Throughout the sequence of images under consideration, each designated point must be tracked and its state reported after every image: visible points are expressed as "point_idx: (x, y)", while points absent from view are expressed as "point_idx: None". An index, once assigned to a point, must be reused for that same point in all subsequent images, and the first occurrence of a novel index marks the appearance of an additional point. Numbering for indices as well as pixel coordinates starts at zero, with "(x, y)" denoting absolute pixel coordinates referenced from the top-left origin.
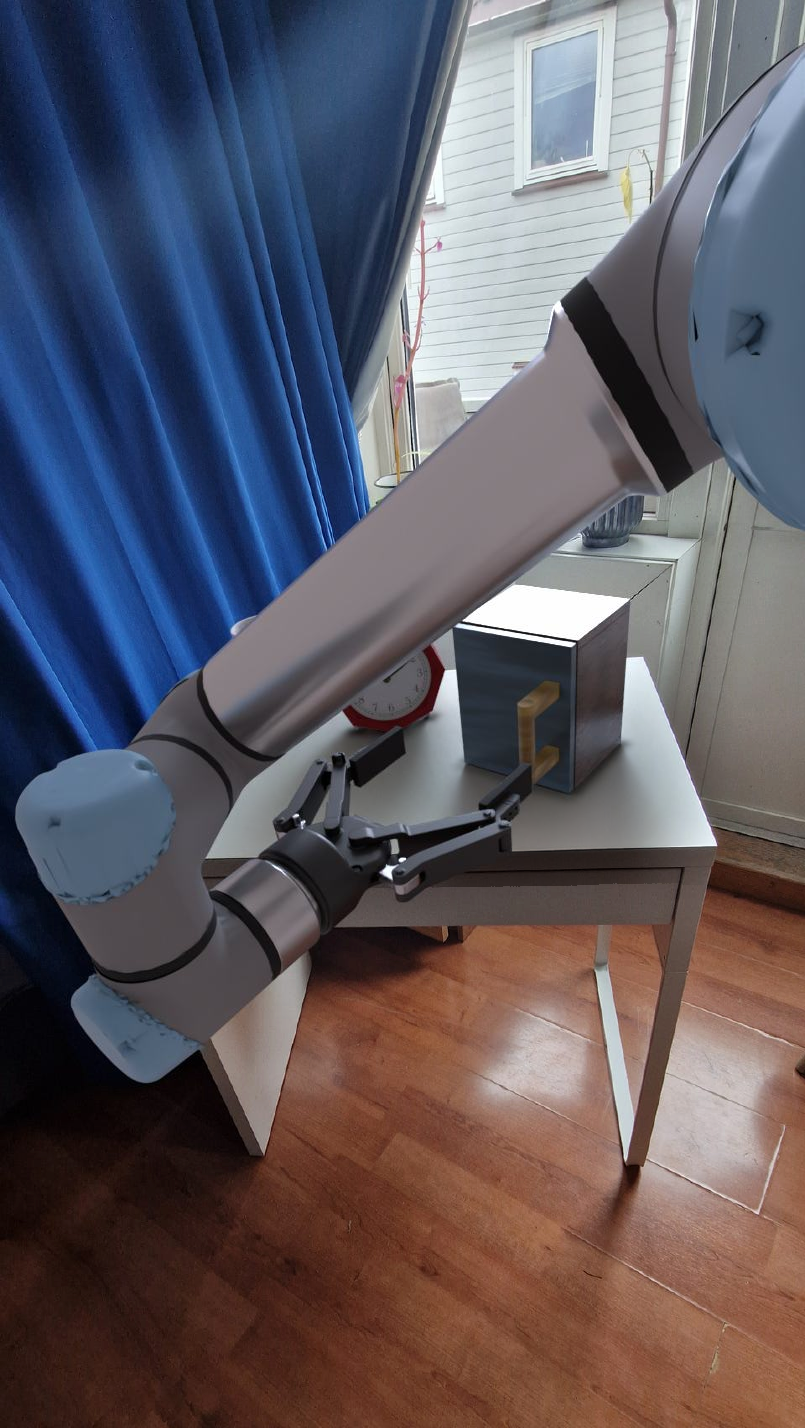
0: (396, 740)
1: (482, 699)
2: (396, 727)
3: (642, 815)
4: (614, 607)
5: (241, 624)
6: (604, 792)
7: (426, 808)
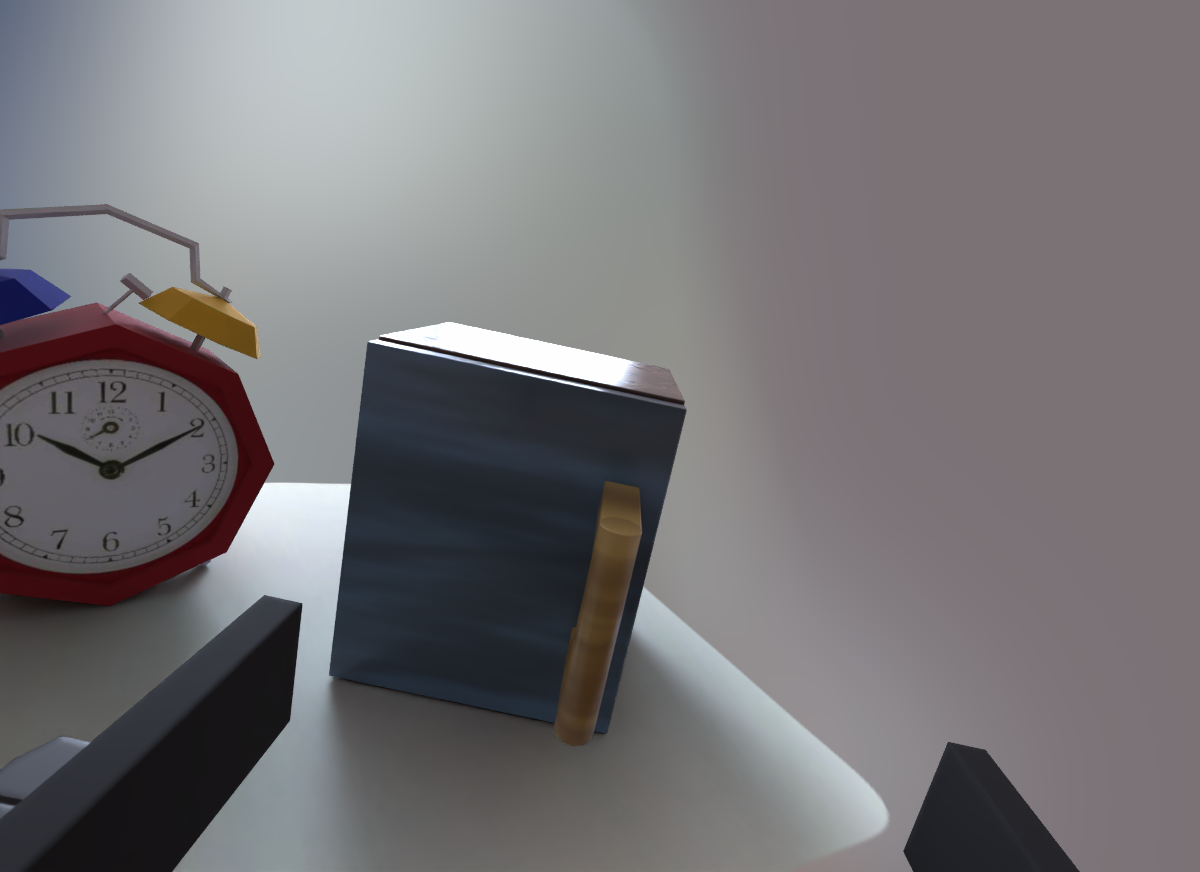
0: (270, 669)
1: (418, 521)
2: (269, 602)
3: (768, 767)
4: (663, 372)
5: None
6: (663, 719)
7: (242, 858)
